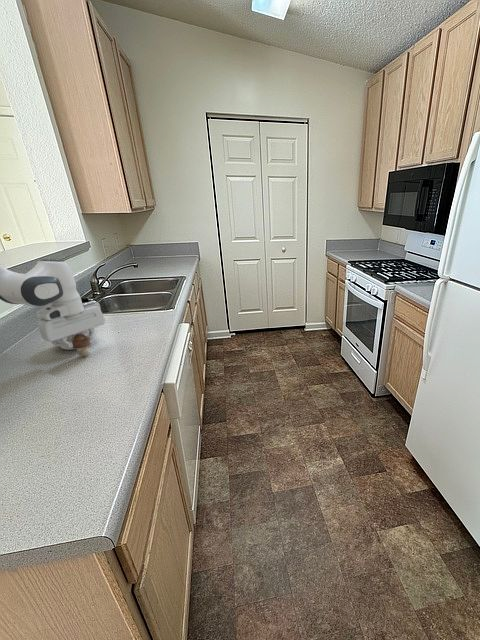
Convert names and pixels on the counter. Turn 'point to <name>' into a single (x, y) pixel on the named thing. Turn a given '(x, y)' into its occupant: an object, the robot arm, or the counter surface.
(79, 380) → the counter surface
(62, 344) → the paper bowls
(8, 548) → the counter surface
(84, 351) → the mushroom
